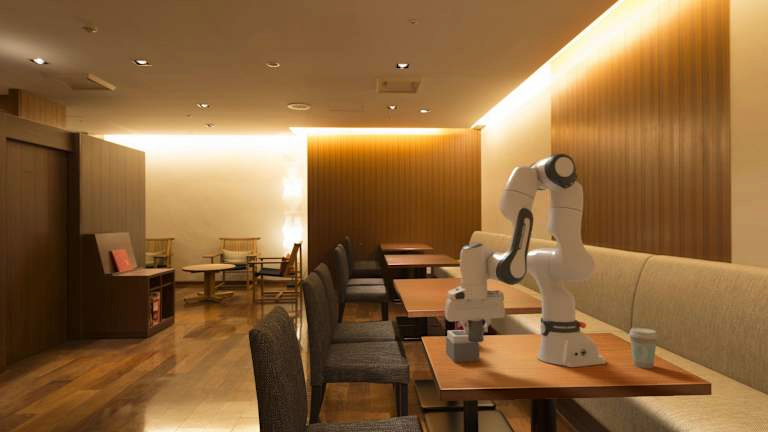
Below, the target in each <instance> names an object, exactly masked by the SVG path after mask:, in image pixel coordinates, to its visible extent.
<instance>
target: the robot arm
mask: <svg viewBox="0 0 768 432" xmlns="http://www.w3.org/2000/svg"><path fill="white" fill-rule="evenodd" d="M577 178H578V175H577V169H576V163H575V160H573V158H572V157H571V156H570V155H568V154H566V153H554V154H552V155H548V156H545V157H542V159H540V160H537V162H534V163H532V164H531V165H530V166H526V165H519V166H516V167H515V168H513V169H512V171H511V172H510V175H509V176H508V179H507V181H506V183H505V185H504V186H503V187H504V188H503V191H502V193H501V196H500V200H499V206H498V208H499V210H500V213H501V214H502V216H503V217H504V218H506V220H509V221H510V222H511V223H512V232H511V233H512V234H511V236H510V242H509V247H508V250H507V251H506V252H500V251H496V250H493V249H490V248H488V247H487V246H485V245H484V244H483V243H482V242H481V243H480V242H476V243H475V242H473V243H469V244H466V245H464V246H463V247H462V248H461V250H460V253H459V272H460V274H461V279H460V286H459V285H458V286H457V287H455V288H453V289H450V290H448V291H447V297H448V298H447V299H446V301H445V307H444V318H445V319H446V321H448V322H455V321H460V323H461V325H462V326H463V328H464V333H465V334H466V333H469V328H468V327H466V326H465V324H466V320H473V319H478V318H481V319H483V320H484V321H485V322H484V324H483V333H488V327H489V326H490V324H491V322H492V319H503V318H505V315H506V309H505V304H504V301H505V295H504V293H503V291H500V290H499V289H496V290H488V279H490V280H493V281H496V282H497V281H498V282H501V283H504V284H507V285H509V286H510V285H511V286H515V285H517V284H520V283H521V282H522V281H523V279H524V278H525V276H526V274H527V272H528V273H529V274H530V275H531V276H532V277H533V279H534V280H535V282H536V285H537V287H538V289H539V293H540V297H541V318H540V325H539V326H540V335H541V336H540V343H539V349H538V353H537V355H536V357H537V359H538V360H540V361H542V362H545V363H549V364H552V365H559V366H563V367H568V368H577V367H587V366H594V365H595V366H596V365H604V364H606V363H607V360H606V358H605V357H604V356H602V355H600V354H599V349H598V344H597V343H596V342H595V341H594V340H593V339H592V338H590V336H588V335H587V334H586V333H584V332H583V331H582V330H581V329H585V328H586V327H587V323H586V322H583V321H578V320H577V319H576V298H575V296H574V295H573V294H572V292H570V291H569V290H568V289H567V288H566V286H565V284H564V282H565V281H566V282H572V283H573V282H574V283H575V282H584V281H589V280H590V279H591V278H592V277H593V275H594V273H595V270H596V263H595V259H594V257H593V256H592V254H591V253H589V252H588V250H587V249H586V247H585V246H584V243H583V240H582V230H581V228H582V218H583V212H584V211H583V210H584V189H583V186H582V185H581V184H580V183H579V182H578V181H577ZM545 190H549V193H550V195H551V196H550V199H551V201H550V206H549V211H548V219H547V226H546V228H547V231H548V233H549V234H550V236H552V237H553V238H555V241H556V248H555V247H554V248H553V247H539V248H533V249H530V251H529V247H530V242H531V237H532V232H533V227H534V226H533V225H534V214H533V213H532V212H533V205H534V201H535V198H536V194H537V192H538V191H545Z"/></svg>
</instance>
